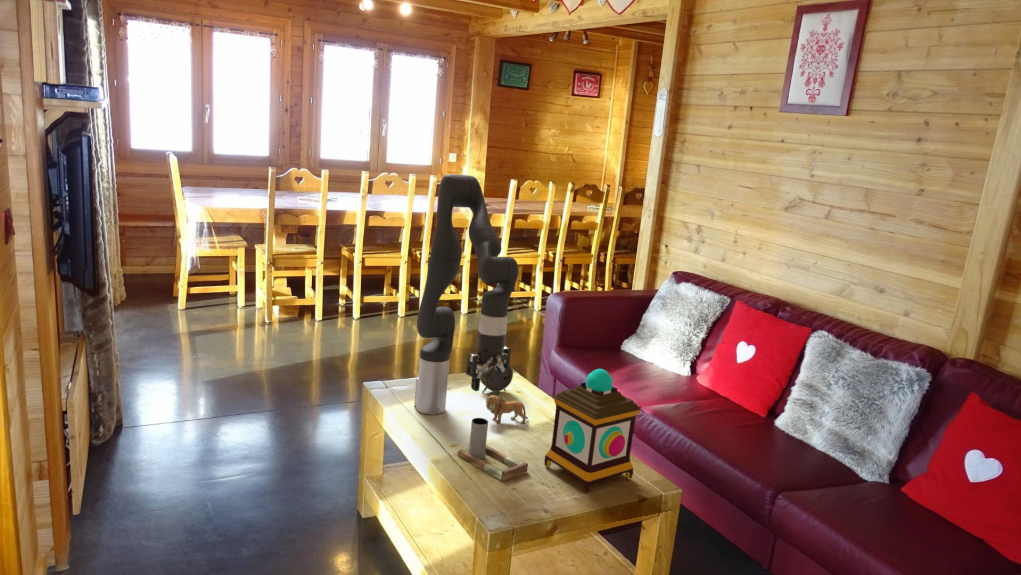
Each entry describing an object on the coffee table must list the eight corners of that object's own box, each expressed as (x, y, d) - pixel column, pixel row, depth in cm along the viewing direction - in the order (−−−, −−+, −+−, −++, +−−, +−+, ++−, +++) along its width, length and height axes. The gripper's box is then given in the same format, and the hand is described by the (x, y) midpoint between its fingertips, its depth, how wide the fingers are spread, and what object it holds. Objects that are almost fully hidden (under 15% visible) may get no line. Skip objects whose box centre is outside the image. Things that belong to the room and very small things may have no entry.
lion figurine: (487, 426, 224) (490, 399, 222) (481, 419, 228) (483, 392, 227) (531, 423, 230) (534, 396, 228) (524, 416, 234) (527, 390, 232)
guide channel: (457, 455, 203) (458, 447, 202) (480, 447, 209) (481, 439, 209) (503, 481, 191) (504, 472, 190) (527, 472, 197) (528, 463, 197)
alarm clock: (505, 388, 257) (510, 344, 253) (513, 394, 252) (518, 349, 249) (477, 391, 251) (482, 346, 248) (485, 397, 247) (489, 351, 243)
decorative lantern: (536, 465, 202) (548, 361, 195) (588, 451, 214) (601, 353, 207) (586, 498, 187) (600, 387, 180) (639, 481, 199) (655, 376, 192)
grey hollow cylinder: (482, 460, 201) (486, 425, 199) (466, 457, 202) (470, 422, 200) (486, 453, 206) (489, 419, 204) (470, 450, 207) (474, 416, 204)
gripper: (500, 322, 204) (494, 377, 207) (463, 330, 193) (457, 387, 197) (520, 330, 199) (514, 386, 203) (483, 338, 189) (477, 397, 192)
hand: (486, 387), depth 200 cm, fingers open, 8 cm apart
